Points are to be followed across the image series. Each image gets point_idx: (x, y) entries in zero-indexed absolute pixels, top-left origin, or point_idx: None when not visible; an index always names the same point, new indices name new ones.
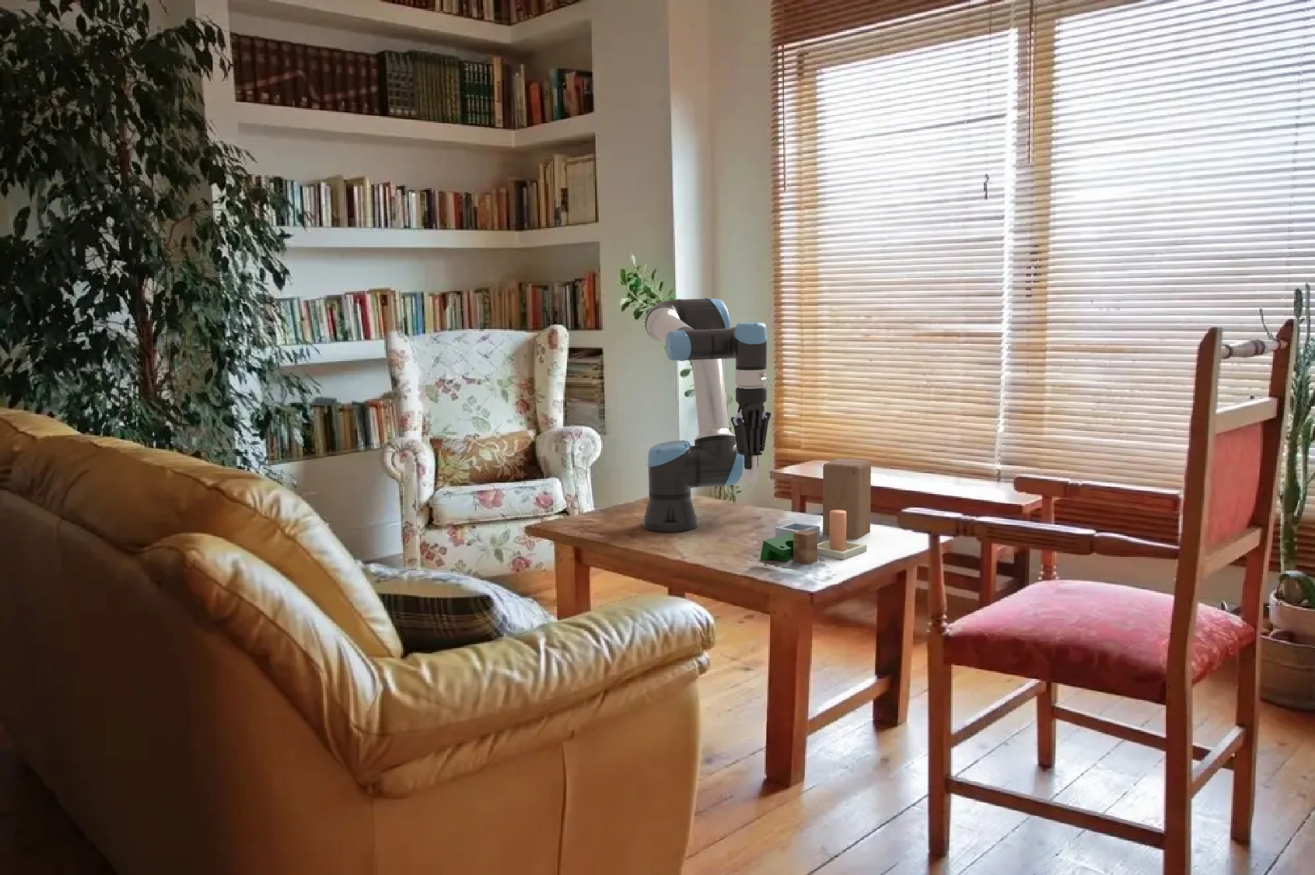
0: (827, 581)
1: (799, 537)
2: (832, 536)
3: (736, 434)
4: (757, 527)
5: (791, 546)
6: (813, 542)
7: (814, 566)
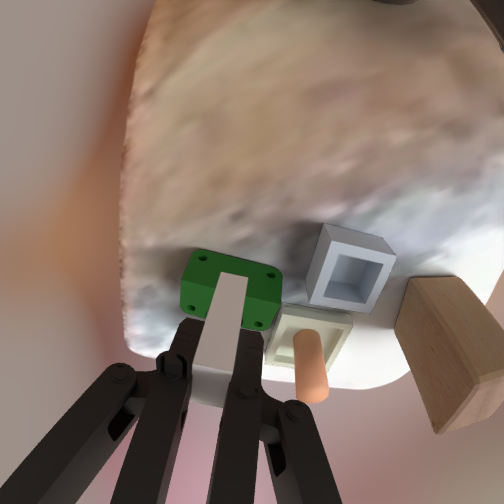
0: None
1: None
2: (295, 357)
3: (33, 462)
4: (452, 128)
5: None
6: None
7: None
